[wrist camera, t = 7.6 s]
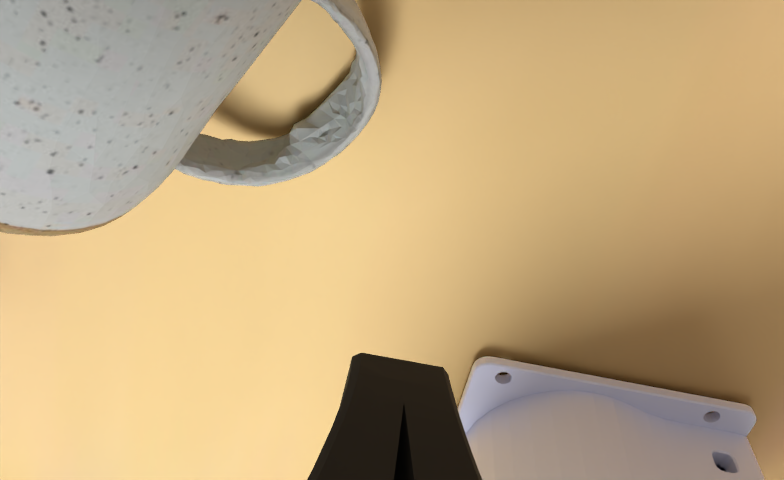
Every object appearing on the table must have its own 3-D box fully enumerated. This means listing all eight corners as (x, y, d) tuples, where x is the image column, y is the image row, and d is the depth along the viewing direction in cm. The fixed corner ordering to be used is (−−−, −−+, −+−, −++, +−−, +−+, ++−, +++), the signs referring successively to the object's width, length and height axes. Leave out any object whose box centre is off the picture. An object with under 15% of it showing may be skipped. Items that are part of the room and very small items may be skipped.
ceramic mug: (-75, -4, 19) (-334, 131, 12) (40, -338, 15) (-254, -387, 9) (284, 211, 22) (223, 406, 16) (458, -17, 18) (469, 121, 12)
